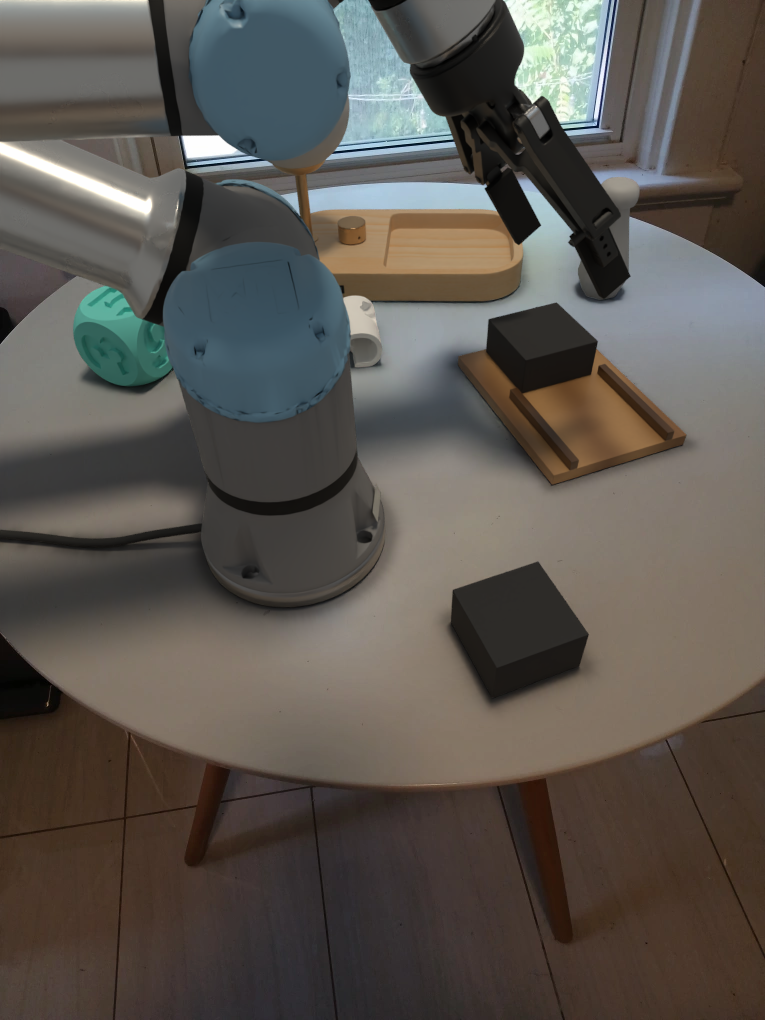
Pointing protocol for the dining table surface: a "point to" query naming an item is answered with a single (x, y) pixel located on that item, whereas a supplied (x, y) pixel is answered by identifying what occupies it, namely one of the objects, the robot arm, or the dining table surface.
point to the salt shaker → (615, 226)
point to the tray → (575, 418)
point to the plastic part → (363, 331)
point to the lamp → (407, 244)
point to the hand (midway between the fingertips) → (568, 258)
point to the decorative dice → (119, 340)
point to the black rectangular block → (517, 628)
